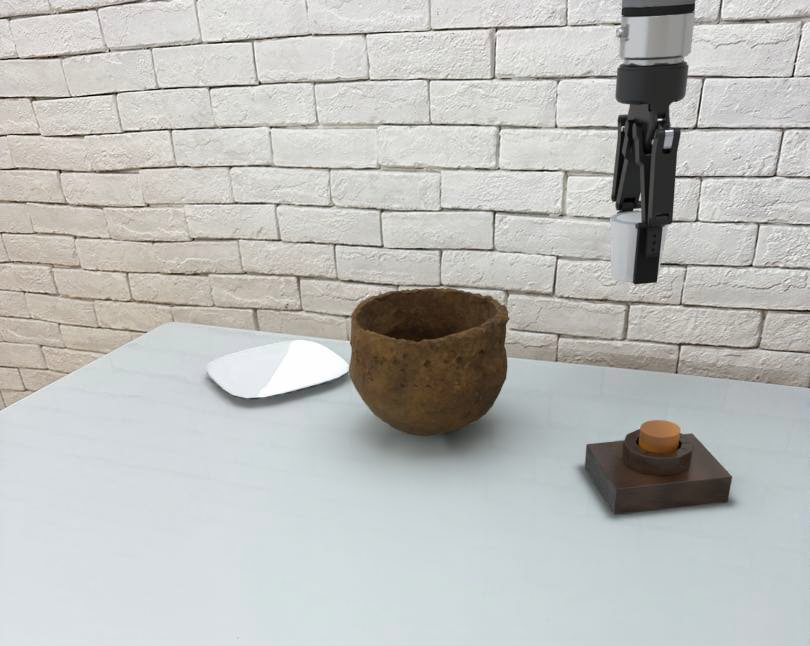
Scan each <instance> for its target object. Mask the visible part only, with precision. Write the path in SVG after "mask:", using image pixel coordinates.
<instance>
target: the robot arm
mask: <svg viewBox="0 0 810 646" xmlns="http://www.w3.org/2000/svg"><path fill="white" fill-rule="evenodd" d="M696 1H697V0H621V13H620V14H621V17H620V27H618V28H616V30H615V36H616V38H619V44H618V57H619V58H620V59H621V60H623V63H621V64H619V66H618V67H617V70H616V80H615V81H616V82H615V93H614V94H615V95H614V96H615V97H614V99H615V100H616V101H617V103H620V104H624V105H629V108H628V111H627V113H625V114H619V115H618V117H617V120H616V121H617V122H616V123H617V140H616V147H615V148H616V149H615V158H614V166H613V167H614V168H613V176H612V185H611V195H610V199H611V200H610V201H611V202H612V203H615V205H614V206H615V210H616V211H617V212H616V214H618V213H623V212H632V211H634V210H636V211H641V221H642V222H641V223H637V224H635V227H636V229H637V240H636V252H635V263H634V274H633V282H632V284H633V285H635V286H636V285H645V284H655V283H656V284H657V283H658V277H659V274H658V267H659V258H660V248H661V238H662V229H663V227H664V226H665V225H668V226H669V225H672V224H673V219H674V204H675V202H674V201H675V191H676V190H675V189H676V174H677V160H678V150H679V145H680V141H681V140H680V139H681V135H682V131H681V128H680V127H671V118H670V106H671V104H673V103H678V102H680V101H682V100H683V99H684V98H685V97H686V93H687V84H688V76H689V66H690V65H689V64H688V62H687V61H685V57H688V56H689V55H690V54H691V53H692V44H693V35H694V26H695V18H696V17H695V16H696V12H695V9H696ZM638 209H639V210H638Z"/></svg>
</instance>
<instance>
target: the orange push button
mask: <svg viewBox="0 0 810 646" xmlns="http://www.w3.org/2000/svg"><path fill="white" fill-rule="evenodd" d="M639 429H640V434H639V443H638V446H639V448H642V449H644V450H646V451H648V452H656V453H668V452H674V451H676V450H678V446H679V439H680V433H682V432H681V427H680V426H679V425H678V424H676V423H675V422H672V421H668V420H663V419H653V420H648V421H645V422H643V423H642V424H641V425H640V427H639Z"/></svg>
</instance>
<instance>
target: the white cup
mask: <svg viewBox="0 0 810 646" xmlns="http://www.w3.org/2000/svg"><path fill="white" fill-rule="evenodd" d="M641 222H642V221H641V210H639V211H637V210H633V211H632V212H623V213H618V214H617V213H615V214H613V215H611V216H610V218H609V229H610V231H609V234H610V235H609V236H610V276H611V278H612V279H614V280H616V281H618V282H623V283H633V274H634V263H635V252H636V240H637V229H636V227H635V224H637V223H641ZM668 228H669V225H665V226H664V227H663V229H662V238H661V248H660V258H659V267H658V275H659V274H660V269H661V264H662V258H663V253H664V248H665V243H666V238H667V232H668Z"/></svg>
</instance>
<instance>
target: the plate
mask: <svg viewBox="0 0 810 646" xmlns="http://www.w3.org/2000/svg"><path fill="white" fill-rule="evenodd" d="M349 366H350V364H349V363H348V362H347V361H346V360H345V359H344V358H342V357H341V356H340V355H339V354H337V353H335V352H334V351H333V350H331V349H329V348H328V347H326V346H325V345H322V344H320V343H318V342H316V341H311V340H305V339H296V340H294V339H293V340H284V341H278V342H274V343H269V344H264V345H259V346H256V347H252V348H251V347H250V348H247V349H243V350H239V351H236V352H232V353H229V354H225V355H222V356H219V357H217V358H215V359H213V360H210V361H209V362H208V363H207V365H206V368H205V371H206V373H207V375H208V377H209V378H210V379H211V380H212V381H213V383H215V384H216V385H217V386H218V387H219V388H221V389H222V390H223V392H225V393H227V394H229V395H230V396H232V397H234V398H238V399H242V400H247V401H250V400H265V399H271V398H276V397H281V396H285V395H289V394H294V393H298V392H301V391H304V390H308V389H312V388H315V387H319V386H322V385H326V384H328V383H331V382H334V381H337V380H339V379H340V378H342V377H344V376H346V375H347V374H349Z"/></svg>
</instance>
